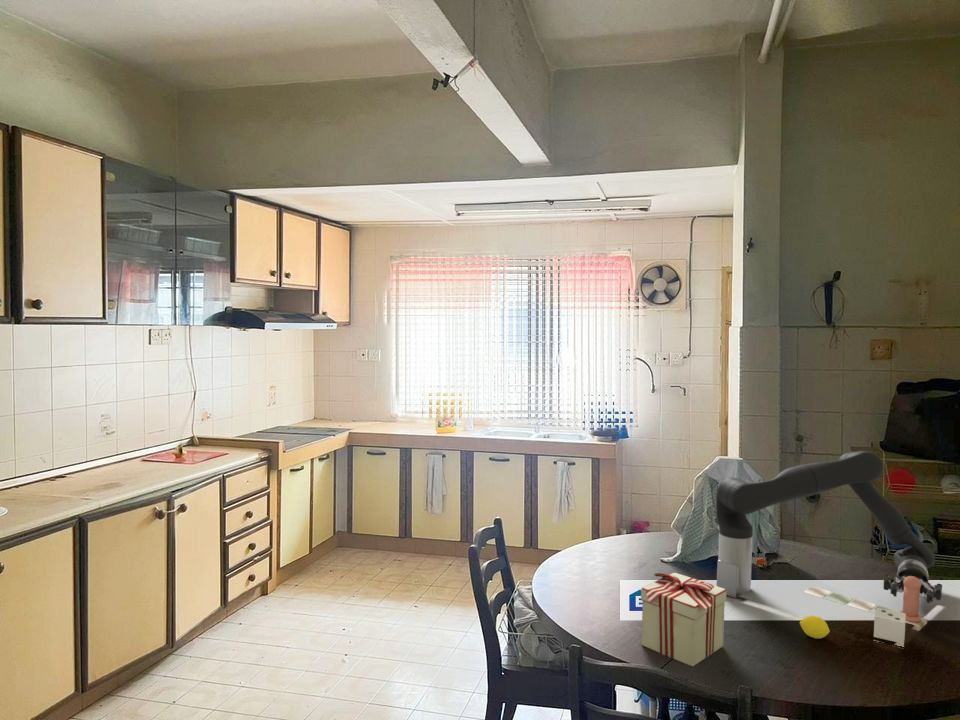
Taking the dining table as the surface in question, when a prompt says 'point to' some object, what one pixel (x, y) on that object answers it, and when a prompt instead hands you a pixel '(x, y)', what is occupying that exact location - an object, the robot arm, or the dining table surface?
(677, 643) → the gift box
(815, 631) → the lemon
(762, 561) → the kendama
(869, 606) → the board
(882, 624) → the die
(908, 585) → the pawn
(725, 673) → the dining table surface
